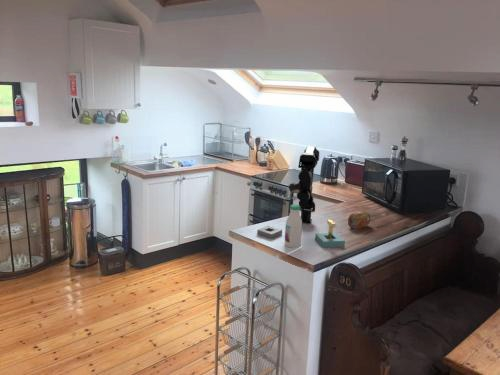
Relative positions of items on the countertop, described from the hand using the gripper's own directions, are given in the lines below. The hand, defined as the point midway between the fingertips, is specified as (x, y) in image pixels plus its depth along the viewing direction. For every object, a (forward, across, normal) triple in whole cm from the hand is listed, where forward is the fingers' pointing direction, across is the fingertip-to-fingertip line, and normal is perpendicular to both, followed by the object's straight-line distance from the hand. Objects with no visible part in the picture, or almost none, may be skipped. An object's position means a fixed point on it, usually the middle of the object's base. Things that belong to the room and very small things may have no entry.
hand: (303, 207), depth 223 cm
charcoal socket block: (+13, +12, -15) cm, 23 cm away
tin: (+13, -18, +29) cm, 37 cm away
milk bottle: (+13, +22, -2) cm, 26 cm away
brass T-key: (+12, +12, +15) cm, 23 cm away
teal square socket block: (+13, +12, +15) cm, 23 cm away
